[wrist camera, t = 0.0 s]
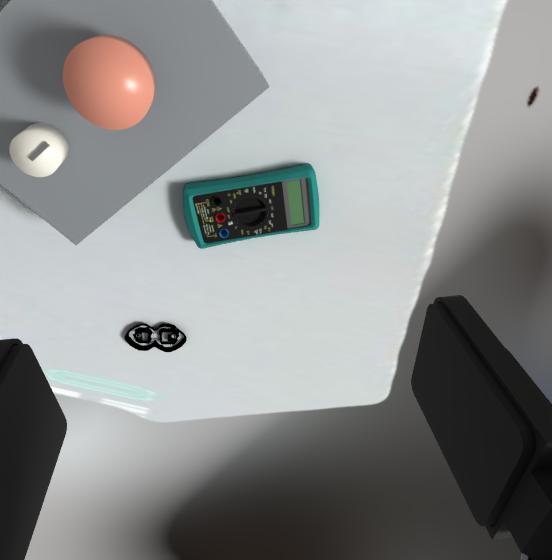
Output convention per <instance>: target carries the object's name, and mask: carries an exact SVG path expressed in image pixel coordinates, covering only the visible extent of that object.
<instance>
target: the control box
mask: <svg viewBox="0 0 552 560" xmlns="http://www.w3.org/2000/svg"><path fill="white" fill-rule="evenodd" d="M99 35H114V36H119V37H121V38H124V39H126V40H128V41H130V42H131V43H133V44H134V45H136V46H137V47H138V48H139V49H140V50H141V51H142V52H143V53H144V55H145V56H146V57H147V59H148V60H149V62H150V64H151V66H152V68H153V71H154V74H155V80H156V92H155V97H154V100H153V102H152V104H151V106H150V108H149V110H148V112H147V114H146V115H145V116H144V118H143V119H142V120H141V121H140V122H138V123H137V124H136V125H134V126H132V127H130V128H127V129H122V130H110V129H105V128H102V127H99V126H96V125H94V124H92V123H91V122H89V121H88V120H86V119H85V118H84V117H83V116H81V115H80V114H79V113H78V112H77V110H76V109H75V108H74V107H73V105H72V104H71V102H70V100H69V99H68V96H67V94H66V91H65V88H64V84H63V67H64V63H65V60H66V58H67V56H68V54H69V53H70V51H71V50H72V49H73V48H74V47H75V46H77V45H78V44H80V43H81V42H83V41H85V40H88V39H90V38H92V37H95V36H99ZM267 88H269V85H268V83H267V82H266V80H265V78H264V76H263V74H262V73H261V71H260V70H259V68H258V67H257V65H256V64H255V63H254V61H253V60H252V58H251V57H250V55H249V54H248V52H247V51H246V49H245V48H244V47H243V45H242V44H241V42H240V41H239V39H238V38H237V36H236V35H235V33H234V32H233V31H232V29H231V28H230V26H229V25H228V23H227V22H226V20H225V19H224V17H223V16H222V15H221V13H220V12H219V10H218V9H217V7H216V6H215V4H214V3H213V1H212V0H10V2H9V3H8V4H7V5H6V6H5V7H4V8H3V9H2V10H1V11H0V185H2V186H3V187H4V188H5V189H7V190H8V191H9V192H10V193H12V194H13V195H14V196H15V197H17V198H18V199H19V200H20V201H22V202H23V203H24V204H25V205H26V206H28V207H29V208H30V209H31V210H33V211H34V212H35V213H36V214H38V215H39V216H40V217H41V218H43V219H44V220H45V221H46V222H48V223H49V224H50V225H51V226H53V227H54V228H55V229H56V230H58V231H59V232H60V233H61V234H63V235H64V236H65V237H66V238H68V239H69V240H70V241H71V242H73V243H74V244H75V245H77V244H78V243H80V242H81V241H82V240H83V239H84V238H86V237H87V236H88V235H89V234H91V233H92V232H93V231H94V230H95V229H97V228H98V227H99V226H100V225H102V224H103V223H104V222H105V221H106V220H108V219H109V218H110V217H111V216H113V215H114V214H115V213H116V212H117V211H119V210H120V209H121V208H122V207H123V206H125V205H126V204H127V203H128V202H130V201H131V200H132V199H133V198H134V197H136V196H137V195H138V194H139V193H141V192H142V191H143V190H144V189H145V188H147V187H148V186H149V185H150V184H152V183H153V182H154V181H155V180H156V179H158V178H159V177H160V176H161V175H163V174H164V173H165V172H166V171H167V170H169V169H170V168H171V167H172V166H173V165H175V164H176V163H177V162H178V161H180V160H181V159H182V158H183V157H184V156H186V155H187V154H188V153H189V152H191V151H192V150H193V149H194V148H195V147H197V146H198V145H199V144H200V143H202V142H203V141H204V140H205V139H206V138H208V137H209V136H210V135H211V134H213V133H214V132H215V131H216V130H217V129H219V128H220V127H221V126H222V125H223V124H225V123H226V122H227V121H228V120H230V119H231V118H232V117H233V116H234V115H236V114H237V113H238V112H239V111H241V110H242V109H243V108H244V107H245V106H247V105H248V104H249V103H250V102H252V101H253V100H254V99H255V98H256V97H258V96H259V95H260V94H261V93H263V92H264V91H265V90H266V89H267ZM34 123H47V124H50V125H53V126H54V127H56V128H58V129H59V130H60V131H61V132H62V133H63V134H64V136H65V137H66V139H67V141H68V144H69V153H68V156H67V158H66V159H65V160H64V161H63V162H62V164H61V165H60V166H59V167H58V168H57V170H56V171H55V172H54V173H53V174H51V175H49V176H46V177H34V176H31V175H28V174H26V173H24V172H23V171H21V170H20V169H19V168H18V167H17V166H16V165H15V163H14V162H13V160H12V158H11V156H10V151H9V148H10V143H11V141H12V140H13V138H14V137H16V136H17V135H18V134H20V133H21V132H22V131H23V130H25V129H26V128H27V127H29V126H30V125H32V124H34Z"/></svg>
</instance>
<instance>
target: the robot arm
mask: <svg viewBox="0 0 552 560" xmlns="http://www.w3.org/2000/svg"><path fill="white" fill-rule="evenodd" d="M411 384H412V390H413V393H414V395H415V397H416V399H417V401H418V403H419V405H420V407H421V410H422V411H423V413H424V415H425V418H426V420H427V422H428V424H429V426H430V428H431V430H432V432H433V434H434V436H435V438H436V440H437V442H438V444H439V446H440V449H441V451H442V453H443V455H444V457H445V459H446V461H447V463H448V465H449V467H450V469H451V471H452V473H453V475H454V477H455V479H456V481H457V484H458V486H459V488H460V490H461V492H462V494H463V496H464V498H465V500H466V502H467V504H468V506H469V508H470V510H471V512H472V514H473V517H474V518H475V520H476V521H477V523H478V524H479V525H481V526H485V527H486V529H487V530H488V532H489V534H490V537H491V539H492V540H498V539H505V538H512V537H513V538H514V540H515V542H516V544H517V546H518V548H519V549H520V551H521V553H522V557H521V560H552V404H551V403H550V402H549V400H548V399H547V398H546V397H545V395H544V394H543V393H542V392H541V390H540V389H539V388H538V387H537V385H536V384H535V383H534V382H533V380H532V379H531V378H530V377H529V375H528V374H527V373H526V372H525V370H524V369H523V368H522V367H521V366H520V364H519V363H518V362H517V361H516V359H515V358H514V357H513V355H512V354H511V353H510V352H509V351H508V350H507V349H506V348H505V347H504V346H503V345H502V344H501V342H500V341H499V340H498V339H497V337H496V336H495V335H494V334H493V332H492V331H491V330H490V329H489V327H488V326H487V325H486V323H485V322H484V321H483V320H482V318H481V317H480V316H479V315H478V313H477V312H476V311H475V310H474V309H473V307H472V306H471V305H470V303H469V302H468V301H467V300H466V298H464V297H463V296H461V295H458V296H447V297H438V298H436V299H435V301H434V304H430V305H429V306H428V308H427V312H426V317H425V321H424V326H423V330H422V334H421V339H420V343H419V348H418V352H417V357H416V361H415V365H414V370H413V375H412V379H411ZM66 430H67V422H66V419H65V416H64V414H63V412H62V409H61V407H60V406H59V403H58V401H57V399H56V397H55V395H54V393H53V391H52V389H51V387H50V385H49V383H48V381H47V379H46V377H45V375H44V373H43V371H42V369H41V367H40V365H39V363H38V361H37V359H36V357H35V355H34V353H33V351H32V349H31V347H30V346H29V345H28V344H23V343H22V342H21V341H20V340H19V339H5V340H0V560H24V559H25V556H26V553H27V550H28V547H29V544H30V540H31V538H32V535H33V531H34V529H35V525H36V523H37V520H38V516H39V514H40V511H41V508H42V505H43V502H44V498H45V495H46V492H47V489H48V486H49V483H50V480H51V477H52V474H53V471H54V468H55V465H56V462H57V459H58V456H59V453H60V450H61V447H62V444H63V441H64V438H65V435H66Z"/></svg>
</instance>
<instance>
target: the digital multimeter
mask: <svg viewBox="0 0 552 560" xmlns="http://www.w3.org/2000/svg"><path fill="white" fill-rule="evenodd" d="M280 181H281V182H280ZM255 185H256V186H255ZM249 186H250V187H249ZM243 187H244V188H243ZM237 188H238V189H237ZM231 189H232V190H231ZM225 190H226V191H225ZM219 191H220V192H219ZM207 193H208V194H207ZM201 194H202V195H201ZM234 205H235V206H234ZM183 206H184V217H185V220H186V224H187V227H188V229H189V231H190V234H191V236H192V238H193V239H194V241H195V243H196V244H197V246H198V247H199V248H202V249H203V248H207V247H212V246H216V245H221V244H225V243H231V242H236V241H241V240H246V239H251V238H257V237H263V236H270V235H276V234H283V233H291V232H299V231H308V230H315V229H317V228H318V227H319V196H318V188H317V181H316V175H315V171H314V169H313V167H312V166H311V165H310V164H304V165H299V166H295V167H290V168H285V169H281V170H276V171H271V172H266V173H260V174H254V175H249V176H243V177H236V178H229V179H221V180H214V181H205V182H196V183H188V184H186V185H185V186H184V192H183ZM195 211H196V212H195Z"/></svg>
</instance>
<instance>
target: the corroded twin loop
mask: <svg viewBox="0 0 552 560" xmlns="http://www.w3.org/2000/svg"><path fill="white" fill-rule="evenodd" d="M139 326H147V327H146V328H142V327H140V328H137V327H139ZM161 327H171V328H168V329H166V328H162V329H160V330H159V335H160V343H161V344H170V345H171V344H172V345H174V344H175V343H176V342H177V340H178V339H177V338H178V337H179V335H178V334H179V332H180V333H181V334H182V335H183V336H184V338H182V339H181V341H180V342H179V343H178V344H176V345H174V346H173V347H164V346H163V345H160V344H159V343H158V342H157V341H156V340H154V342H153V343H152V344H149V343H150V342H151V339H152V338H151V334H152V330H154V331H156V330H158V329H159V328H161ZM134 328H137V329H136V330H135V334H133V336H134V338H135V340H136V342H138V343H146V344H149V345H147V346H142V345H139V344H138V343H136V342H134V341H133V340H132V339H131V337H129V333H130V331H131V330H133V329H134ZM149 328H151V329H152V330H151V329H149ZM175 328H176V326H175V325H172V324H162V325H160V326H159V327H158V328H156V329H154V328H153V327H151V326H149V325H147V324H140V325H137V326H135V327H133V328H131V329H130V330H129V331H128V332H127V334H126V335H125V340H126V341H127V343H128V344H129V345H130V346H132V347H133V348H135V349H138V350H143V351H147V350H150V349H151V348H153V347H156V348H158V349H160V350H162V351H164V352H172V351H174V350H176V349H178V348H180V347H181V346H183V344H184V343H185V342H186V336H185V334H184V333H183V332H182V331H180V330H179V329H178V328H176V329H175ZM163 332H172V334H174V338H172V337H171V335H172V334H169V335H168V338H167V340H168V342H162V333H163ZM142 333H148V341H143V338H142V336H141V337H140V338H139V337H138V336H139V335H138V334H141V335H142ZM136 335H137V337H136ZM175 336H176V338H175ZM169 342H170V343H169Z"/></svg>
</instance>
